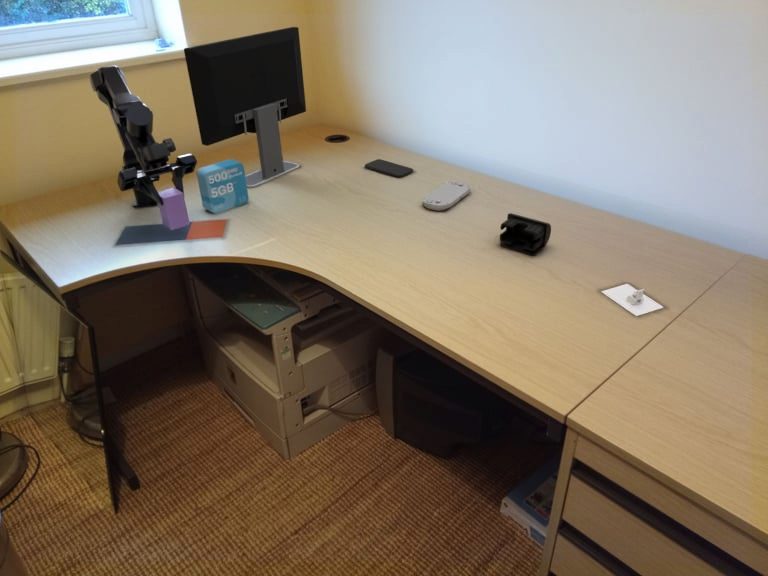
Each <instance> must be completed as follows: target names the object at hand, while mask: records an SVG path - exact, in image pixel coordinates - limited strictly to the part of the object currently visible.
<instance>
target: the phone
mask: <svg viewBox="0 0 768 576" xmlns="http://www.w3.org/2000/svg"><path fill="white" fill-rule="evenodd" d="M364 168H366V169H369V170H373V171H376V172H379V173H381V174H385V175H389V176H391V177H395V178H402V177H405V176H407V175H410V174H412V173H413V172H414V168H412V167H408V166H405V165H403V164H402V165H401V164H398V163H395V162H391V161H388V160H384V159H380V158H378V159H375V160H374V159H373V160H371V161H370V162H367V163H365V164H364Z"/></svg>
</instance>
